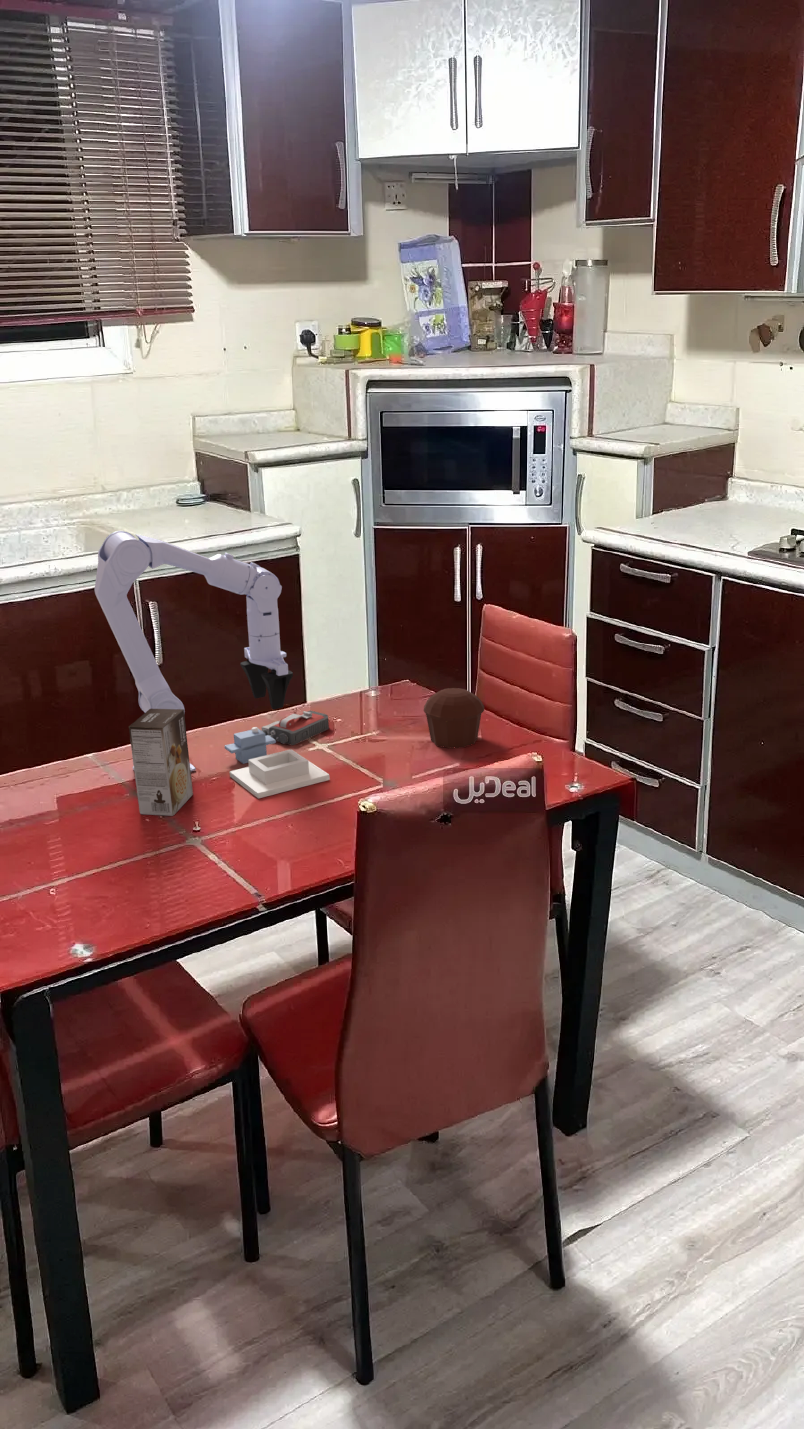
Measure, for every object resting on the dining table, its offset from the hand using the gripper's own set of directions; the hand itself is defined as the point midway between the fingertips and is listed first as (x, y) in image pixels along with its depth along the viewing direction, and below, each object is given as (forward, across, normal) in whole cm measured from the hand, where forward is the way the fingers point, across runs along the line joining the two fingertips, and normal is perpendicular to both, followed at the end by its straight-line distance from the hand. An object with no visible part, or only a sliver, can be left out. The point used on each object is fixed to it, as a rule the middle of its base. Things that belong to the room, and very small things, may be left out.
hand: (268, 702), depth 219 cm
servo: (+10, -2, +5) cm, 11 cm away
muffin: (+9, -17, -31) cm, 36 cm away
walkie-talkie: (+10, +4, -5) cm, 12 cm away
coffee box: (+10, -12, +26) cm, 31 cm away
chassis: (+10, -14, +5) cm, 17 cm away
